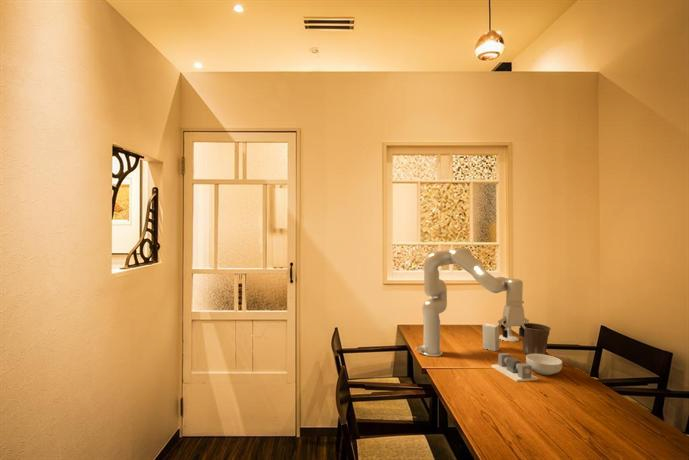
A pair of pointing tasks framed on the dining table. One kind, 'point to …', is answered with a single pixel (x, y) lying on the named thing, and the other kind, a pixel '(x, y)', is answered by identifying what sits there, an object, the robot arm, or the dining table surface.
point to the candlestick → (509, 336)
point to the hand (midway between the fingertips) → (513, 336)
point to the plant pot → (535, 339)
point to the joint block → (513, 364)
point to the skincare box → (491, 337)
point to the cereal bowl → (544, 363)
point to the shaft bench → (523, 369)
